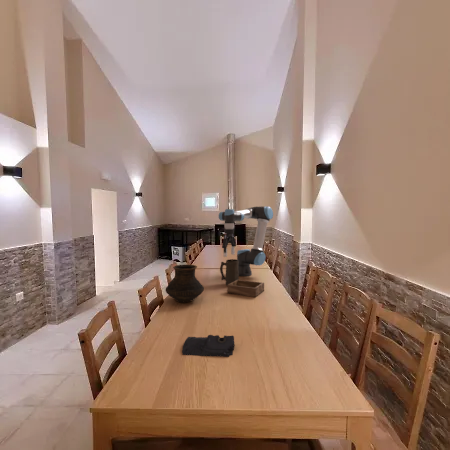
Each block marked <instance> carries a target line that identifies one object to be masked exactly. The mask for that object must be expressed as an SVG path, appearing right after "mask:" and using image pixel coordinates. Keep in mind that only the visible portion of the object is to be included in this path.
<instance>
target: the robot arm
mask: <svg viewBox="0 0 450 450" xmlns="http://www.w3.org/2000/svg"><path fill="white" fill-rule="evenodd" d="M273 217H274V210H273V209H272V207H270V206H253V207H247V208H245V209H240V210H239V209H238V210H235V209H232V208H228V209H227V208H226V209H225V210H224V211H220V212H219V214H218V220H220V221H223V222H224V234H225V235H223V241H222V246H221V248H222V249H223V257H224V258H225V257H226V258H227V257H228V245H229V242H230V245H231V247H230V254H231V255H233V256H235V254H236V260H238V262H239V263H238V272H239V277H250V276H252V274H253V273H252V269H251V265H253V266H262V265H264V263H265V261H266V253H264V252H265V251H264V249H263V248H264V243H265V238H266V232H267V226H268V224H269V223H270V221H271V220H273ZM244 219H249V220H250V219H253V220H256V221H257V224H256V225H257V226H256V230H255V234H254V235H255V236H254V240H253V246H252V247H251V248H250V249H249V248H248V249H238V250H237V252H236V253H235V251H236V250H235V247H237V244H236V238H235V222H241V221H243V220H244Z"/></svg>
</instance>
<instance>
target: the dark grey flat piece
mask: <svg viewBox="0 0 450 450" xmlns="http://www.w3.org/2000/svg"><path fill="white" fill-rule="evenodd" d="M234 351H235V336H234V335H223V337H220V335H218V334H217V335H213V334H208V335H207V337H202V336H200V337H196V336H187V338H186V339H185V340H184V342H183V345H182V350H181V353H182V355H183V356H193V357H194V356H196V357H198V356H199V357H218V358H219V357H220V358H230V356H233V354H234Z"/></svg>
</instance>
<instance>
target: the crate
mask: <svg viewBox="0 0 450 450" xmlns="http://www.w3.org/2000/svg"><path fill="white" fill-rule="evenodd" d="M226 287H227V288H226V289H227V294H231V295H237V296H243V297H244V296H245V297H251V298H257V297H259V295H261V294H262V293H263V292H264V291H265V282H262V281H261V282H259V281H252V280H243V279H239V280H236V281H234V282H232V283H230V284H228V285H226Z"/></svg>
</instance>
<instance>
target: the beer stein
mask: <svg viewBox="0 0 450 450" xmlns="http://www.w3.org/2000/svg"><path fill="white" fill-rule="evenodd" d="M238 263H239V262H238V260H237V258H235V259H226V261H225V262H224V261H221V262H220V267H219V271H220V272H219V273H220V275H221V281H225V285H226V286H227V285H228V284H230V283H232V282H234V281H236V280H240V279H239V278H240V276H239V272H238ZM224 266H225V274H224V271H223V270H224Z"/></svg>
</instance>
